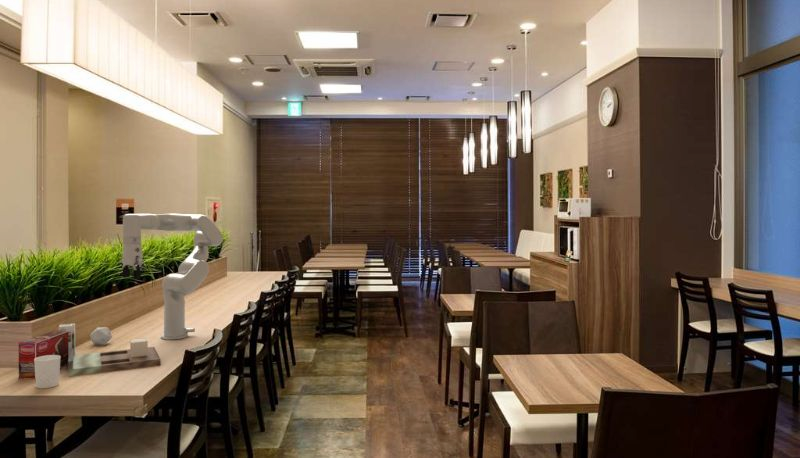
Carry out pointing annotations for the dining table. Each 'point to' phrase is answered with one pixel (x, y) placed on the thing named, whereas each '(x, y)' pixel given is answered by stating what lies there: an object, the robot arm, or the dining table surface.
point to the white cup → (47, 371)
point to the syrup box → (69, 333)
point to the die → (100, 336)
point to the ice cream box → (42, 351)
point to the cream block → (138, 347)
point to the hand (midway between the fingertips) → (131, 278)
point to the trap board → (109, 361)
